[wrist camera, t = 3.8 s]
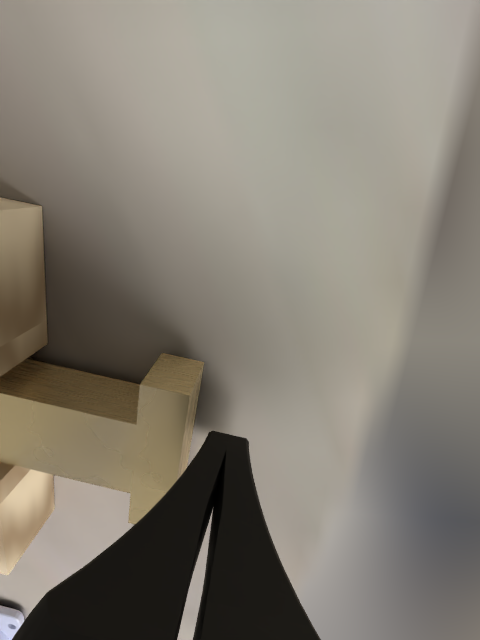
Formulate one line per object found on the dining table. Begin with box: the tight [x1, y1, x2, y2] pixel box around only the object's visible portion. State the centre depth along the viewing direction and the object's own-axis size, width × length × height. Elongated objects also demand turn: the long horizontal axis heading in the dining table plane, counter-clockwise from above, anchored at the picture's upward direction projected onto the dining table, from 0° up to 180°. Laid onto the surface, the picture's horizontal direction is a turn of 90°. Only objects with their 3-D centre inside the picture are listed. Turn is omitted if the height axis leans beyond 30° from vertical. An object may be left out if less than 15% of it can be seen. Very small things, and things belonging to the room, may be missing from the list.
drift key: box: [0, 353, 204, 524], centre depth 12 cm, size 6×8×2 cm
